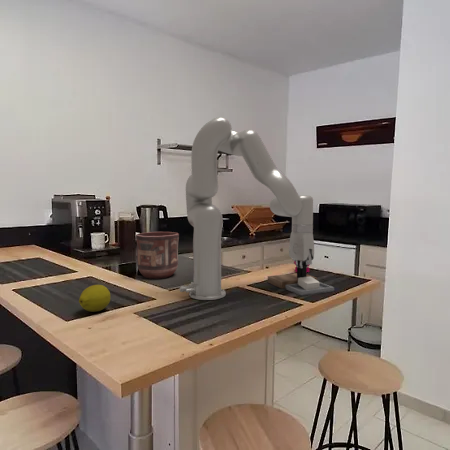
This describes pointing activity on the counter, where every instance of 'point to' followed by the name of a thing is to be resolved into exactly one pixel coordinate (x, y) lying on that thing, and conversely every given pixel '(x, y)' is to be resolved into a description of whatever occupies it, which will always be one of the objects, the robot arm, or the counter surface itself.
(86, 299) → the lemon
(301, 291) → the tray
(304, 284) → the tile
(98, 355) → the counter surface
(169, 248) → the pottery
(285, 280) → the walnut plate
